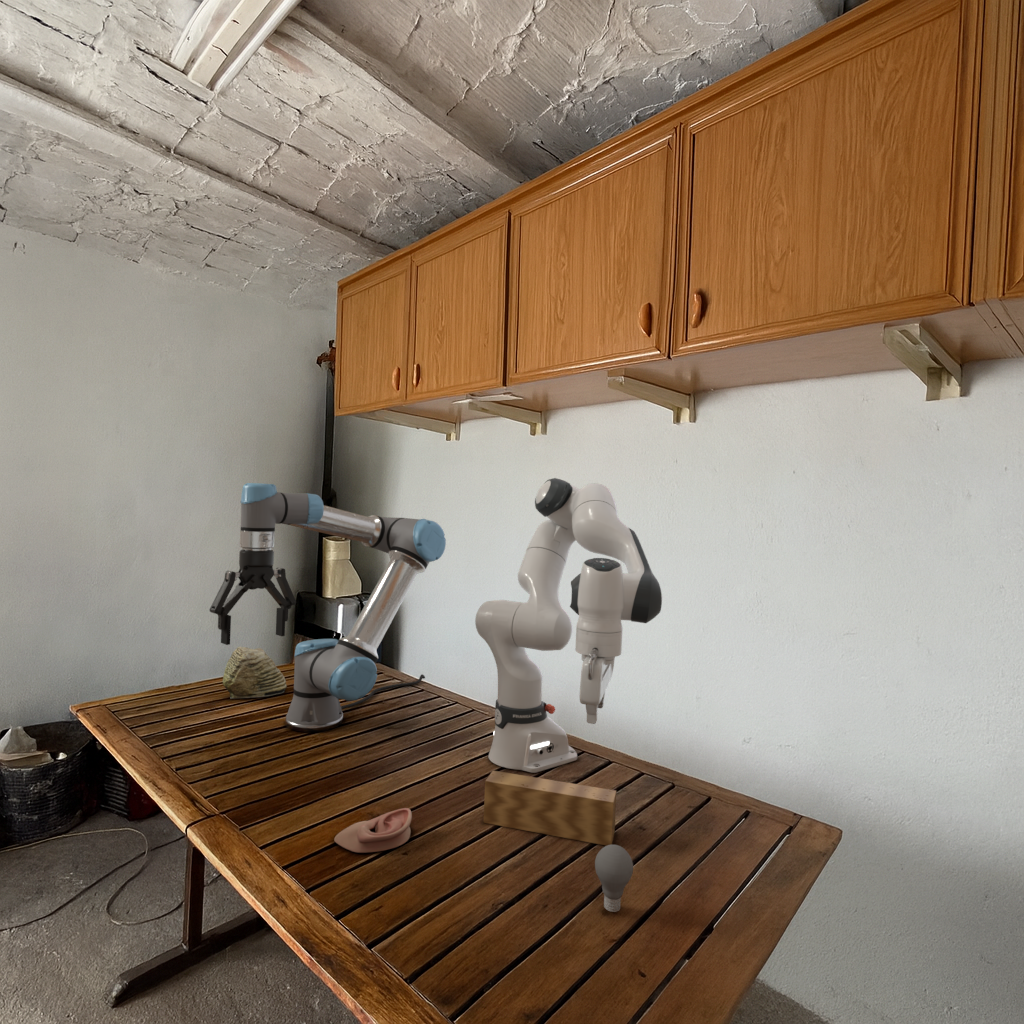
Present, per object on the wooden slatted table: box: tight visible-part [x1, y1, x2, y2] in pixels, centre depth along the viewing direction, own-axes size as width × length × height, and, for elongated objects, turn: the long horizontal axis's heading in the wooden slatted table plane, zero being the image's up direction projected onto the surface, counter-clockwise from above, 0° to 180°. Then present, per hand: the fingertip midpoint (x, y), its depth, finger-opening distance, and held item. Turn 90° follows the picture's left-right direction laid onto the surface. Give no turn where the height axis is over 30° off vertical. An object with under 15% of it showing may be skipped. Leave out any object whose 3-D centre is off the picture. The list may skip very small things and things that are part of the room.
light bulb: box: [594, 844, 634, 913], centre depth 100 cm, size 6×6×10 cm
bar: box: [483, 770, 617, 846], centre depth 125 cm, size 25×5×8 cm, turn 74°
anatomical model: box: [333, 807, 413, 854], centre depth 119 cm, size 13×4×12 cm
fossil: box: [222, 646, 288, 699], centre depth 198 cm, size 9×18×15 cm, turn 132°
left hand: (253, 639), depth 148 cm, fingers open, 13 cm apart
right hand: (595, 714), depth 122 cm, fingers open, 8 cm apart
